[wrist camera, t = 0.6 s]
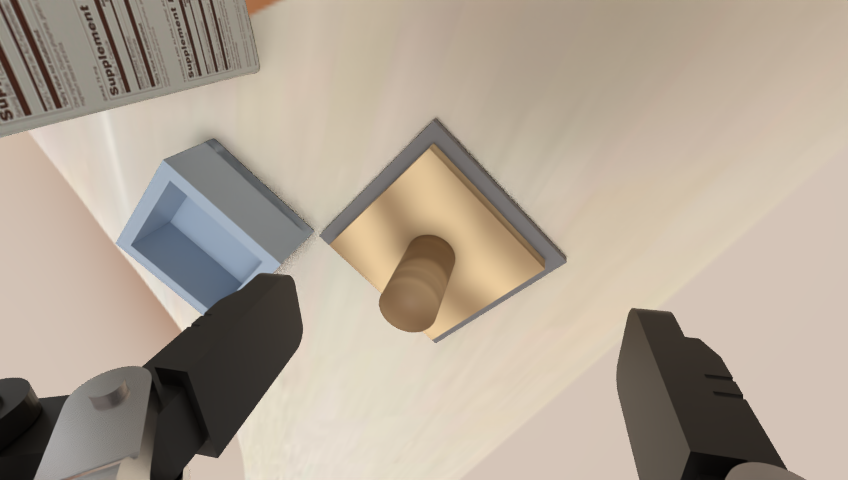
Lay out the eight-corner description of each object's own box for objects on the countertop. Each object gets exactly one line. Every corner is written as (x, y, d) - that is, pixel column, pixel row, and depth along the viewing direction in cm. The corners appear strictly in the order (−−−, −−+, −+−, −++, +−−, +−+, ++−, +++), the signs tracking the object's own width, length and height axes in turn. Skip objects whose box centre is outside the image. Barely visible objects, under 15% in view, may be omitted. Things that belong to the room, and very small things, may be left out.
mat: (435, 118, 27) (433, 120, 26) (566, 257, 29) (566, 262, 29) (322, 232, 33) (319, 235, 33) (437, 338, 36) (435, 343, 35)
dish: (213, 138, 32) (163, 159, 27) (314, 231, 34) (280, 264, 29) (165, 215, 37) (115, 243, 33) (254, 292, 39) (218, 328, 34)
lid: (433, 143, 27) (401, 184, 21) (545, 259, 29) (544, 328, 23) (335, 237, 33) (287, 291, 27) (435, 330, 35) (411, 400, 29)
